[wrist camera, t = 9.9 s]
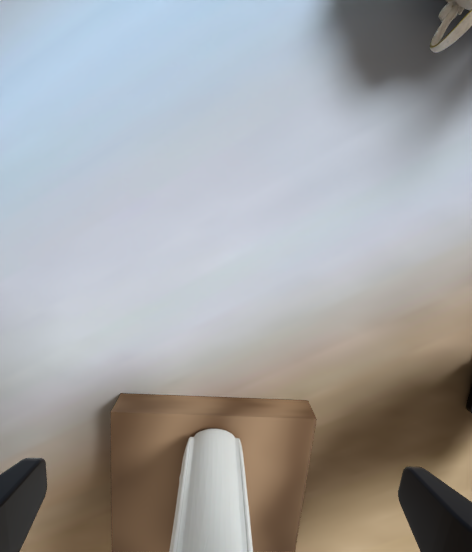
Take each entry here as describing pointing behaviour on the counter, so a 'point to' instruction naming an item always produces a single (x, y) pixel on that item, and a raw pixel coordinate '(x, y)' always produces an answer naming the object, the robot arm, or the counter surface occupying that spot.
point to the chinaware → (455, 6)
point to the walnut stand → (169, 454)
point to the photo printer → (212, 496)
